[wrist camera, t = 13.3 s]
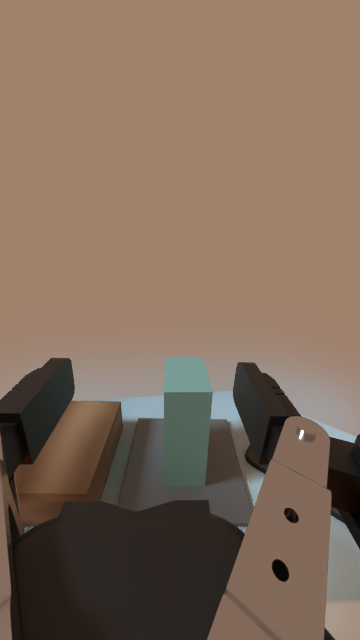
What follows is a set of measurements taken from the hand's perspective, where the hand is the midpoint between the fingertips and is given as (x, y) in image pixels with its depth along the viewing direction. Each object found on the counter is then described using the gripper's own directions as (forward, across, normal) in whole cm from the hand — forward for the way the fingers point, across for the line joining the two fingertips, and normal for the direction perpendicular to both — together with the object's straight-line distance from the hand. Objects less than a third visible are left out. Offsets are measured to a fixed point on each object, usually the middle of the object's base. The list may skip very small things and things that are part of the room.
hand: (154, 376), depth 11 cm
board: (+9, +12, +17) cm, 23 cm away
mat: (+9, -3, +17) cm, 19 cm away
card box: (+9, -3, +17) cm, 19 cm away
